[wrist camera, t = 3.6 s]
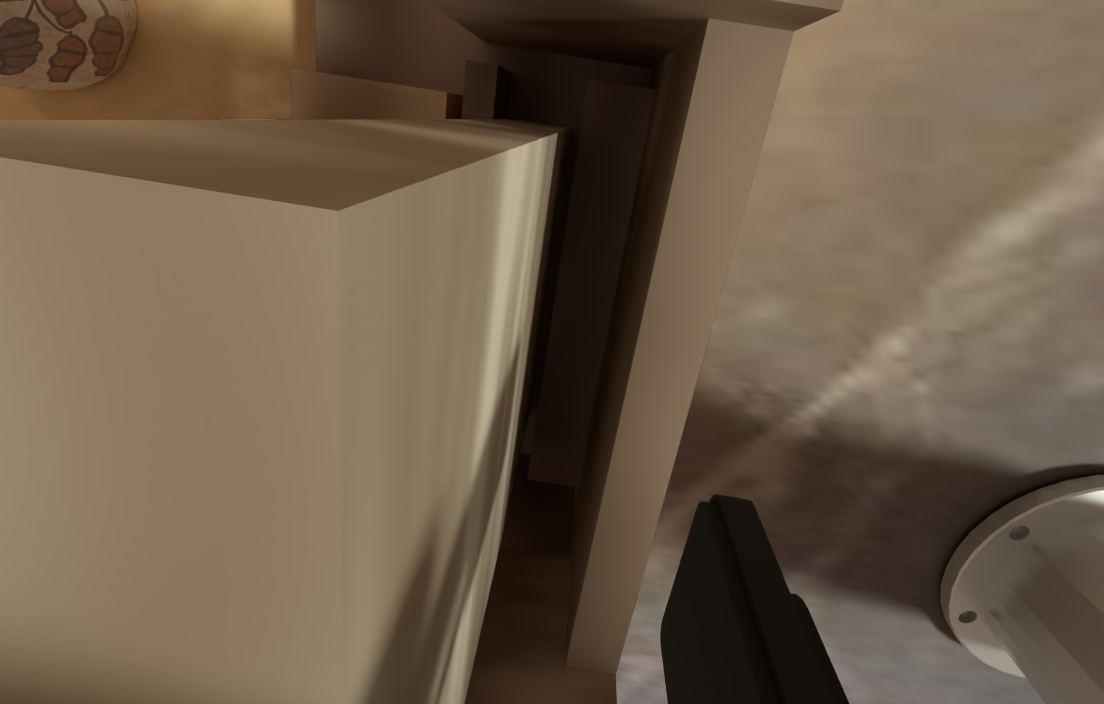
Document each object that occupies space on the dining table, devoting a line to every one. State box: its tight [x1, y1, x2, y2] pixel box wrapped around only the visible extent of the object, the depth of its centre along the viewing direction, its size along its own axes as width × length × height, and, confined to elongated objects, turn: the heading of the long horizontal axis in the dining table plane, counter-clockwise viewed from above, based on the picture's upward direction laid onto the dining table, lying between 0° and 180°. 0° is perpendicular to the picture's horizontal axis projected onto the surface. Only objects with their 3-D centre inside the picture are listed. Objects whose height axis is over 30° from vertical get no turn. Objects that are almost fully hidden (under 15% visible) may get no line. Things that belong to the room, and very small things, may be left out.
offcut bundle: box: [225, 68, 463, 120], centre depth 19 cm, size 5×13×8 cm, turn 172°
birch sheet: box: [0, 119, 571, 704], centre depth 13 cm, size 2×12×20 cm, turn 172°
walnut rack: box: [315, 0, 843, 704], centre depth 18 cm, size 14×19×14 cm
